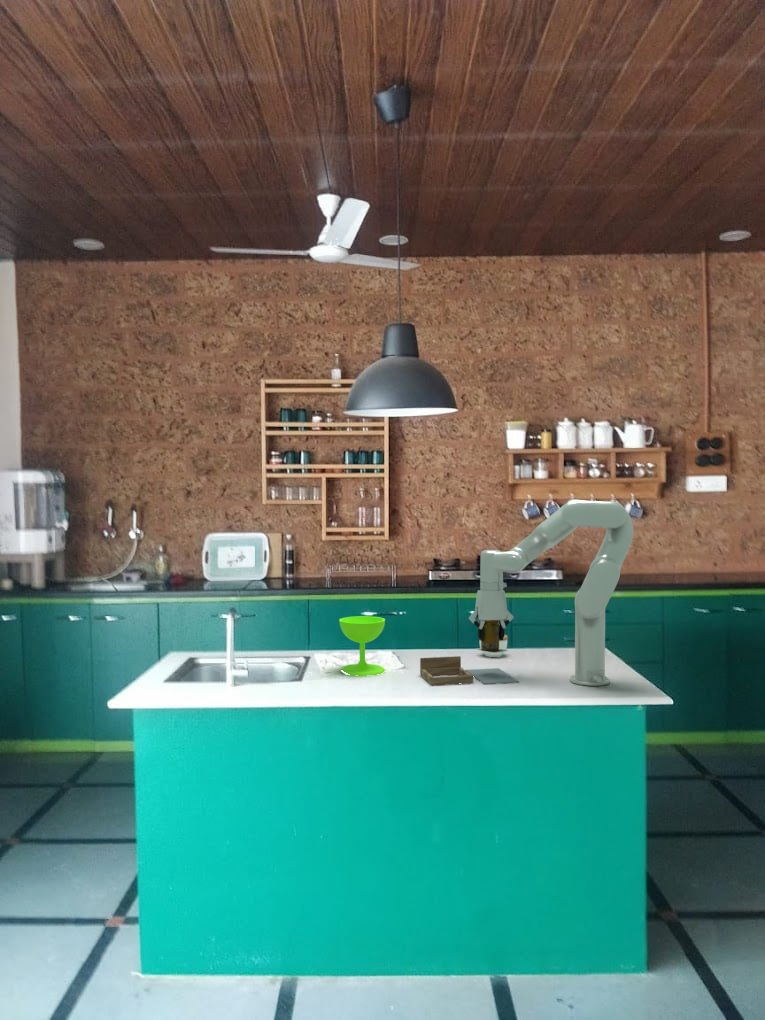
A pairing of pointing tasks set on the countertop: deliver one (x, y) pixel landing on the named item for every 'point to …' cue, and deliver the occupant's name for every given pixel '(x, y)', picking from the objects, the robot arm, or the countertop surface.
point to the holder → (444, 670)
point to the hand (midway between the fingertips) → (491, 639)
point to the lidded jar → (501, 646)
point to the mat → (492, 676)
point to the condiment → (491, 637)
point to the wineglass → (362, 641)
